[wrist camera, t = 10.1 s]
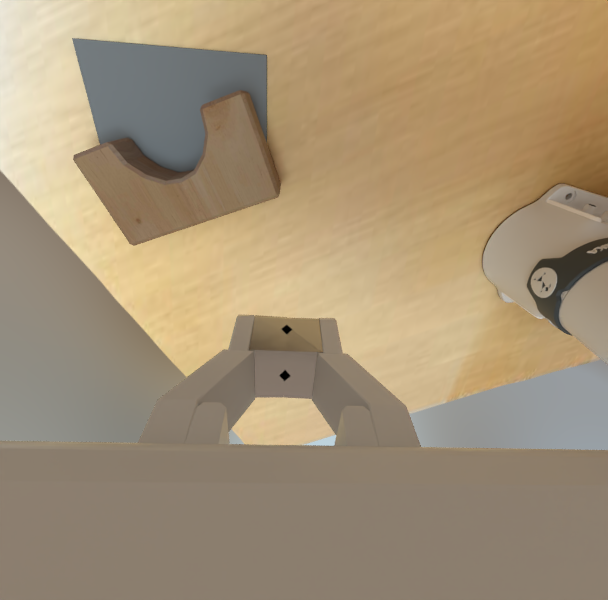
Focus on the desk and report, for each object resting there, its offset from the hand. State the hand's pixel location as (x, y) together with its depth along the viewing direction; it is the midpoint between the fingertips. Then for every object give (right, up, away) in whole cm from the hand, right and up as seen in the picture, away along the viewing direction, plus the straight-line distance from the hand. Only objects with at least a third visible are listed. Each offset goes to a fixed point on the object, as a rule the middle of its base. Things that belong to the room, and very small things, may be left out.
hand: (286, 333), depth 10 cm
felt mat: (-14, +22, +27) cm, 38 cm away
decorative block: (-4, +19, +26) cm, 32 cm away
